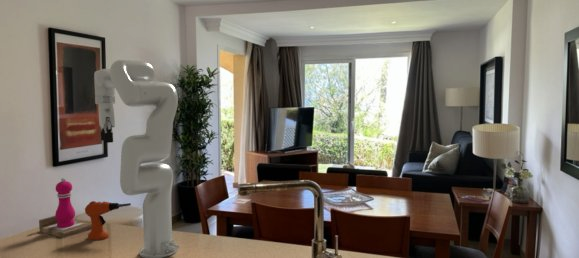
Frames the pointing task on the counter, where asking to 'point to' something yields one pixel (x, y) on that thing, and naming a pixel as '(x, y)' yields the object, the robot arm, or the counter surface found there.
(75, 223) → the brown picture frame
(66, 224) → the pepper mill
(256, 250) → the counter surface
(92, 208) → the toy drill
